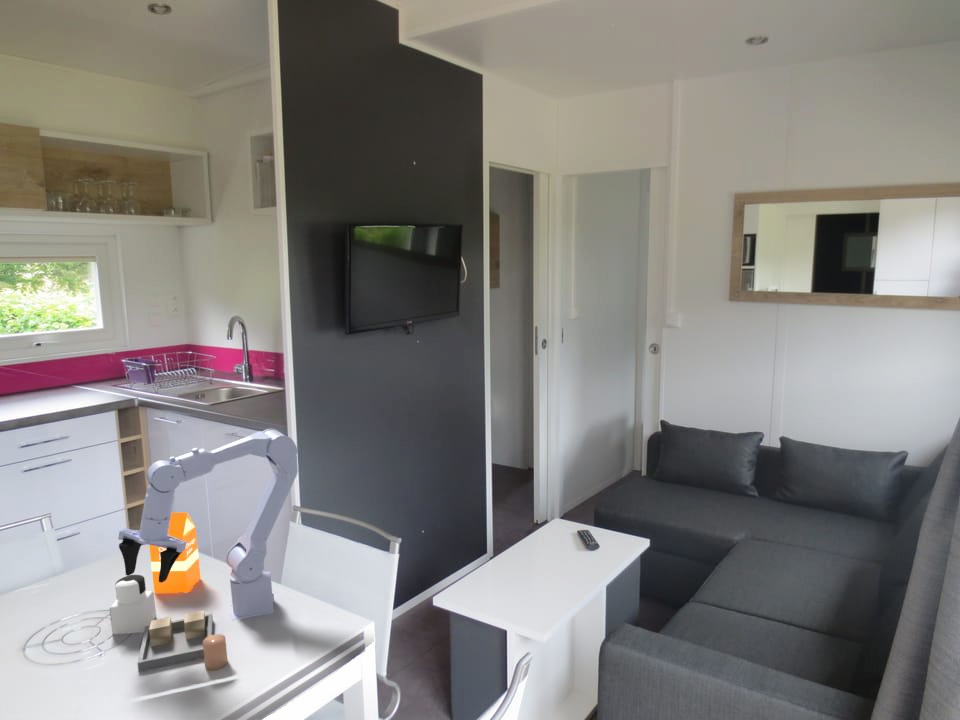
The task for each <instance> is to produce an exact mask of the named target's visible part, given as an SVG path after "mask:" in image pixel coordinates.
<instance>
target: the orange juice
mask: <svg viewBox="0 0 960 720" xmlns="http://www.w3.org/2000/svg"><path fill="white" fill-rule="evenodd" d="M168 535H169V536H171V537H174V538H177V539H179V540H182V541H186V548H185V550H184V551H182V553H181V554H180V555H179V557H178V558H177V559H176V561H175V563H174V564H173V566H172V568H171V570H170V572H169V574H168V577H167V580H166V581H164V582H162V583H160V582H159V573H160V567H161V558H160V552H162V551H164V550H166V549H167V548H163V547H158V546H153V545H148V546H149V547H148V548H149V554H150V567H151V568H150V569H151V574H152V582H153V592H154V594H180V593H179V592H184V593H183V594H189V593H188V592H191V591H192V590H193V588H194V587H195V586H196V585H197V584H198V582H200V580H201V579H202V577H201V569H200V567H201V566H200V560H199V559H200V556H199V548H198V540H197V539H198V538H197V530H196V525H195V523H194V522H193V520H192V519H191V517H190V516H189V513H188V512H171V519H170V524H169V530H168ZM200 578H201V579H200ZM199 579H200V580H199ZM196 583H197V584H196ZM195 584H196V585H195ZM194 585H195V586H194ZM193 586H194V587H193Z"/></svg>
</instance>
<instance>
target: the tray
mask: <svg viewBox="0 0 960 720" xmlns="http://www.w3.org/2000/svg"><path fill="white" fill-rule="evenodd" d="M184 620H185V618H181V619H175V620H171V624H172V633H173V634H172V640H171V643H166V644H162V645H157V646H152V647H151V641H150V632H149V628H150V625H149V626H146V627H145V632H143V637H142V641H141V646H140V649H139V655H138V660H137V670H138V671H137V672H143V671H148V670H153V669H158V668H162V667H163V668H164V667H166V666H171V665H177V664H181V663H186V662H191V661H195V660H199V659H200V660H201V659H204V651H203V640H204V639H205V638H207V637H209V636H211V635H214V634H213V632H214V617H213V613H207V614H205V623H206V633H205V636H201V637H196V638H191V639H186V635H185V626H184Z"/></svg>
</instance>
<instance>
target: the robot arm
mask: <svg viewBox="0 0 960 720" xmlns="http://www.w3.org/2000/svg"><path fill="white" fill-rule="evenodd" d="M298 453H299V449H298V447H297V445H296V443H295V441H294V439H292V438H291V437H290V436H288V435H285V434H284V433H281V432H280V430H277V429H276V428H267V429H264V430H263V431H262V430H261V431H255V432H254V433H252V434H250V435H248V436H246V437H245V436H244V437H243V438H241V439H238V440H235V441H233V442H230V443H228V444H225V445H222V446H220V447H218V448H215V449H212V450H208V449H205V448H198V447H194V448H192V449H191V452H188V453H185V454H181V455H179V456H176V457H175V456H170V457H169V458H168V459H169V460H164V459H163V460H161V459H160V460H158V461H155V462H153V463H152V464H151V465H150V466H149V468H148V469H147V470H146V471H145V477H146V480H147V481H148V483H147V488H146V494H145V498H144V503H143V507H142V508H143V509H142V515H141V520H140V526H139V530H137V529H130V528H129V529H128V528H124V529H121V530H119V531H118V532H119V533H118V537H117V538H118V540H120V541H122V542H121V543H119V544H118V548H119V551H120V552H121V555H122V559H123V563H124V568H125V576H129V575H134V573H135V571H136V567H137V560H138V555H139V553H140V549H141V545H148V546H149V545H153V546H158V547H163V548H167V549H166V550H164V551H162V552H160V558H161V567H160V573H159V582H160V583H162V582H164V581H166V580H167V577H168V574H169V572H170V570H171V568H172V566H173V564H174V563H175V561H176V559H177V558H178V557H179V555H180V554H181V553H182V551H184V550H185V548H186V541H182V540H179V539H177V538H174V537H171V536H169V535H168V530H169V524H170V519H171V513H173V512H172V511H173V505H174V500H175V491H176V489H177V488H178V487H179V486H180V484H181V483H185V482H188V481H190V480H193V479H197V478H198V477H201V476H204V475H207V474H211V472H213V470H214V468H215V466H216V465H219V464H223V463H225V462H229V461H233V460H237V459H238V458H242V457H245V456H249V455H253V456H256V457H261V458H267V460H268V463H269V465H270V466H271V470H272V475H271V476H270V478H269V481H268V483H267V486H266V487H265V490H264V492H263V494H262V496H261V498H260V499H259V503H258V505H257V507H256V509H255V511H254V514H253V515H252V517H251V520H250V522H249V524H248V526H247V529H246V530H245V532H244V533H243V534H241V535H240V536H239V537H238V539H237V540H236V542H235V543H234V544H233V545H232V546H231V547H230V548H229V550H228V551H227V552H226V557H225V561H226V564H227V565H228V566H229V567H230V568H231V572H230V575H229V581H230V592H231V593H230V594H231V603H232V604H231V605H230V606H231V607H230V612H231V613H230V614H231V618H230V620H231V621H237V620H242V619H243V620H244V619H248V618H252V617H257V616H263V615H268V614H272V613H274V612H275V610H274V602H275V595H274V593H273V587H272V577H271V576H272V575H271V571H264V569H265V567H264V566H265V565H264V564H265V558H266V556H267V540H268V538H269V537H270V535H271V532H272V530H273V528H274V526H275V523H276V521H277V519H278V517H279V515H280V513H281V510H282V508H283V506H284V503H285V502H286V499H287V498H288V494H289V493H290V490H291V488H292V487H293V484H294V481H295V480H296V479H297V475H298V472H299V471H298V455H297V454H298Z"/></svg>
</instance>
